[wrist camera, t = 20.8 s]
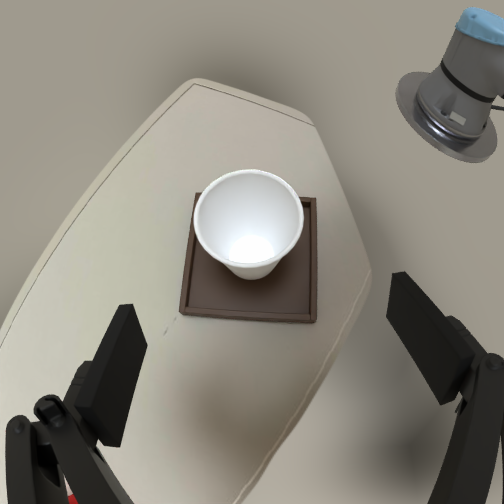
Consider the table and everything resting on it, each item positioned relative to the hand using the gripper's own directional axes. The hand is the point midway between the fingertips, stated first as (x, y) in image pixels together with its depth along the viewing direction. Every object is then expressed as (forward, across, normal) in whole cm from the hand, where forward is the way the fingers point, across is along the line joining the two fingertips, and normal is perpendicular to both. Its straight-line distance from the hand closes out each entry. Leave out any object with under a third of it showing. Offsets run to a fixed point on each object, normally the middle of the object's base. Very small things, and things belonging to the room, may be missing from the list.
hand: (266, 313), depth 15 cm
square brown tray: (+23, 0, -8) cm, 24 cm away
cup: (+22, 0, -8) cm, 24 cm away
